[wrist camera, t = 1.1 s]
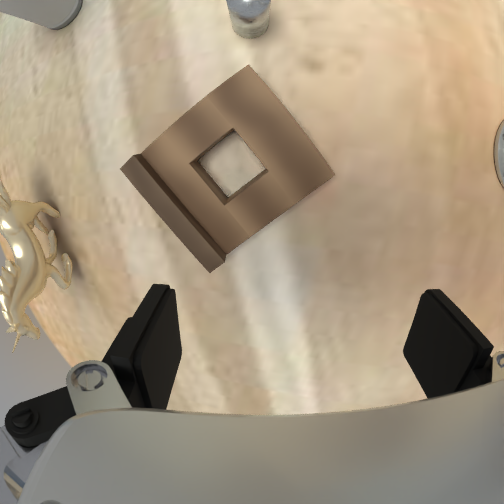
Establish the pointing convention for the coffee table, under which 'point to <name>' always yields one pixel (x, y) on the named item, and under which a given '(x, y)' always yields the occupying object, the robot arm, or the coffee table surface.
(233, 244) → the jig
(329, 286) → the coffee table surface
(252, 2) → the blue-grey domed cylinder
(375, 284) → the coffee table surface
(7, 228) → the unicorn
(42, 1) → the travel mug
